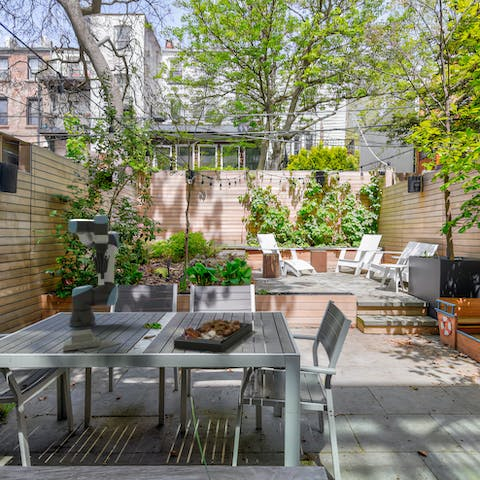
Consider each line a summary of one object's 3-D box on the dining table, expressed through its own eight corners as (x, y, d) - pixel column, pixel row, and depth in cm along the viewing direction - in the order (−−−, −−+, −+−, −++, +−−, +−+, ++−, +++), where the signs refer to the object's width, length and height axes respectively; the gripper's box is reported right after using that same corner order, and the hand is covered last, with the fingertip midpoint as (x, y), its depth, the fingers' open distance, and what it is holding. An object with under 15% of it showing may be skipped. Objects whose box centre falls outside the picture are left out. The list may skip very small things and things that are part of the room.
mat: (75, 349, 172) (75, 348, 172) (108, 340, 187) (108, 339, 187) (87, 352, 167) (87, 351, 167) (120, 343, 181) (120, 342, 181)
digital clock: (62, 344, 177) (61, 357, 168) (65, 327, 175) (64, 340, 166) (97, 345, 184) (98, 357, 175) (101, 329, 183) (102, 341, 173)
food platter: (222, 354, 165) (222, 331, 165) (173, 349, 173) (173, 327, 173) (252, 331, 207) (252, 313, 207) (212, 328, 215) (212, 310, 216)
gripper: (88, 242, 206) (88, 284, 206) (102, 242, 199) (102, 286, 199) (100, 242, 212) (100, 283, 212) (114, 242, 205) (114, 285, 205)
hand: (101, 284), depth 205 cm, fingers closed
